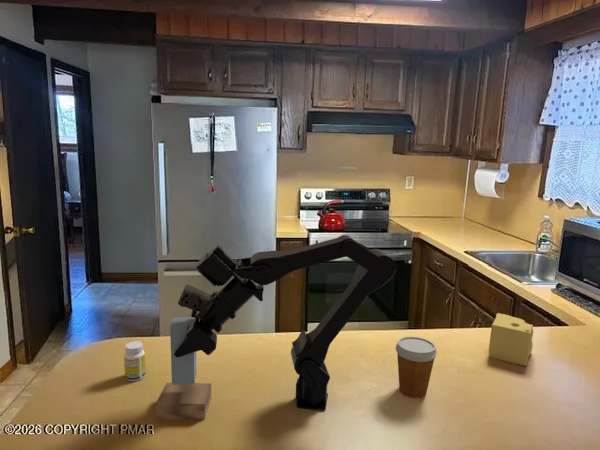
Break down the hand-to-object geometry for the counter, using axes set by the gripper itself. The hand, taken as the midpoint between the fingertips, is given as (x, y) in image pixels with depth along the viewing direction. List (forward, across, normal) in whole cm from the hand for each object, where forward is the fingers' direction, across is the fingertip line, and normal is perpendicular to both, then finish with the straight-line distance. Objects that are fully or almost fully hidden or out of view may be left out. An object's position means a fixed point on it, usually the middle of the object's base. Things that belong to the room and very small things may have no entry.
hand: (177, 350), depth 95 cm
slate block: (+4, 0, +6) cm, 7 cm away
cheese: (-53, -19, +73) cm, 92 cm away
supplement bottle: (+18, -14, +1) cm, 23 cm away
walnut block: (+9, 0, +11) cm, 14 cm away
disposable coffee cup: (-28, -3, +48) cm, 56 cm away
